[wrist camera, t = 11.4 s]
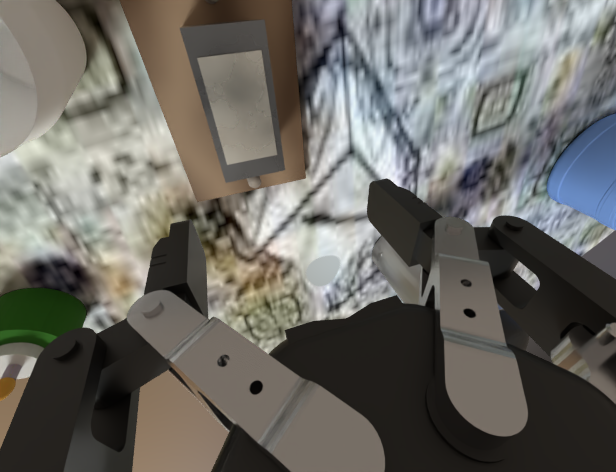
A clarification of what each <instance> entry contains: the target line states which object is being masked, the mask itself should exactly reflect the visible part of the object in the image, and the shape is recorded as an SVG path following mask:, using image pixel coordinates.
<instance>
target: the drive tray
mask: <svg viewBox="0 0 616 472" xmlns="http://www.w3.org/2000/svg"><path fill="white" fill-rule="evenodd" d="M120 3H121V5H122V8H123V10H124V13H125V16H126V18H127V21H128V23H129V26H130V29H131V31H132V34H133V36H134V39H135V42H136V44H137V47H138V49H139V52H140V55H141V57H142V60H143V62H144V65H145V68H146V70H147V73H148V75H149V78H150V81H151V83H152V86H153V88H154V91H155V94H156V96H157V99H158V101H159V104H160V107H161V109H162V112H163V114H164V117H165V119H166V122H167V125H168V127H169V130H170V132H171V135H172V138H173V140H174V143H175V145H176V148H177V151H178V153H179V156H180V158H181V161H182V164H183V166H184V169H185V171H186V174H187V177H188V179H189V182H190V184H191V187H192V190H193V192H194V195H195V197H196V200H197V202H200V201H204V200H209V199H214V198H218V197H223V196H227V195H232V194H236V193H241V192H246V191H250V190H255V189H259V188H264V187H268V186H273V185H278V184H282V183H287V182H291V181H296V180H300V179H305V178H306V174H305V162H304V149H303V137H302V125H301V112H300V100H299V87H298V75H297V62H296V50H295V37H294V25H293V12H292V0H120ZM263 19H265V26H266V34H267V41H268V48H269V55H270V63H271V70H272V77H273V85H274V92H275V99H276V106H277V114H278V121H279V128H280V135H281V143H282V150H283V157H284V165H285V170H284V171H279V172H275V173H270V174H265V175H261V176H256V177H251V178H247V179H242V180H237V181H233V182H228V183H226V182H225V179H224V176H223V172H222V169H221V165H220V162H219V159H218V155H217V152H216V149H215V145H214V142H213V139H212V135H211V132H210V129H209V125H208V122H207V119H206V115H205V112H204V109H203V105H202V102H201V99H200V95H199V92H198V89H197V85H196V82H195V78H194V75H193V72H192V68H191V65H190V62H189V58H188V55H187V52H186V48H185V45H184V42H183V38H182V35H181V32H180V27H182V26H190V25H200V24H210V23H220V22H230V21H240V20H263Z"/></svg>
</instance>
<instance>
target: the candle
mask: <svg viewBox="0 0 616 472" xmlns="http://www.w3.org/2000/svg"><path fill="white" fill-rule="evenodd" d="M86 314H87V312H86V308H85V306H84V304H83V303H82V302H81V301H80V300H78V299H77V298H76V297H74V296H72V295H70V294H68V293H65V292H62V291H58V290H54V289H47V288H26V289H19V290H15V291H12V292H9V293H6V294H4V295H3V296H1V297H0V401H1V400H3V399H4V398H6V397H7V396H8V395H9V394H10V393H11V392H12V391H13V389H14V387H15V383H16V379H22V378H27V377H30V375H31V373H32V370H33V368H34V365H35V363H36V360H37V358H38V357H39V355H40V353H41V352H42V351H43V350H44V348H45V347H46V346H47V345H48V344H49V343H51V342H52V341H53V340H54V339H56V338H57V337H59V336H60V335H62V334H64V333H66V332H68V331H71V330H73V329H77V328H82V326H83V324H84V321H85V318H86Z"/></svg>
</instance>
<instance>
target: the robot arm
mask: <svg viewBox="0 0 616 472" xmlns="http://www.w3.org/2000/svg"><path fill="white" fill-rule="evenodd" d="M367 215H368V218H369V221H370V222H371V223H372V225H373V226H374V227H375V228H376V229H377V230H378V232H379V233H380V234H381V235H382V236H381V238H380V239H379V240H378V241H377V243H376V244H375V246H374V248H373V251H372V260H373V262H374V263H375V265H376V266H377V267H378V269H379V271H381V273H382V274H383V275H384V277H385V278H386V280H387V281H388V282H389V284H390V285H391V286H392V288H393V289H394V290H395V292H396V293H397V294H398V296H399V297H400V298H401V300H402V301H403V303H402V302H401V301H400V299H399V298H398V296H397V295H396V296H393V297H389V298H386V299H383V300H380V301H377V302H373V303H371V304H369V305H367V306H366V307H364V308H363V309H361V310H360V311H358V312H356V313H355V314H353V315H352V316H350V317H348V318H346V319H334V320H320V321H312V322H309V323H306V324H303V325H300V326H296V327H293V328H290V329H287V330H285V333H286V338H287V339H286V340H285V341H283V342H282V343H280V344H279V345H278V346H277V347H275V348H274V349H273V350H272V351H271V352H270V353H269V354H267V353H266V352H264V351H263V350H262V349H260V348H259V347H257V346H256V345H255V344H253V343H252V342H250V341H249V340H248V339H246V338H245V337H243V336H242V335H241V334H239V333H238V332H236V331H235V330H234V329H232V328H231V327H229V326H228V325H227V324H225V323H224V322H222V321H221V320H220V319H218V318H216V317H212V318H211V319H210V320H209V319H208V302H207V273H206V258H205V253H204V250H203V247H202V245H201V242H200V240H199V237H198V235H197V232H196V229H195V227H194V225H193V222H192V221H191V220H186V221H181V222H177V223H172V224H171V226H170V234H169V237H166V238H161V239H160V240H159V241H158V242H157V244H156V245H155V246H154V248H153V251H152V256H151V258H152V259H151V261H150V268H149V272H148V277H147V282H146V287H145V292H144V296H142V297H141V298H139V299H138V300H137V301H136V302H135V303H134V304H133V305H132V306H131V308H130V309H129V311H128V314H127V318H126V319H124V320H123V321H121V322H119V323H117V324H115V325H113V326H111V327H109V328H107V329H105V330H103V331H101V332H99V333H97V334H96V333H95V332H94V331H93V330H92V329H90V328H77V329H73V330H71V331H68V332H66V333H64V334H62V335H60V336H59V337H57V338H56V339H54V340H53V341H52V342H51V343H49V344H48V345H47V346H46V347H45V348H44V350H43V351H42V352H41V353H40V355H39V357H38V358H37V360H36V363H35V365H34V368H33V370H32V373H31V375H30V378H29V380H28V383H27V385H26V388H25V390H24V393H23V395H22V397H21V400H20V402H19V405H18V407H17V409H16V412H15V414H14V417H13V419H12V422H11V424H10V427H9V429H8V431H7V434H6V436H5V439H4V441H3V444H2V446H1V449H0V472H132V466H133V455H134V445H135V434H136V423H137V412H138V401H139V392H140V387H141V386H143V385H144V384H146V383H147V382H149V381H150V380H152V379H154V378H155V377H157V376H159V375H160V374H161V373H163V372H165V371H167V370H168V371H169V372H170V373H171V374H172V375H173V376H174V377H175V378H176V379H177V380H178V381H179V382H180V383H181V384H182V385H183V386H184V387H185V388H186V389H187V390H188V391H189V392H190V393H191V394H192V395H193V396H194V397H195V398H196V399H197V400H198V401H199V402H200V403H201V404H202V405H203V406H204V407H205V408H206V409H207V410H208V412H209V413H210V414H211V415H212V416H213V417H214V418H215V419H216V420H217V421H218V422H219V423H220V424H221V425H222V426H223V427H224V428H225V429H226V430H227V431H228V432H229V434H228V436H227V438H226V441H225V443H224V445H223V447H222V449H221V451H220V454H219V456H218V458H217V460H216V462H215V464H214V466H213V469H212V471H211V472H616V279H614V278H613V277H611V276H610V275H608V274H607V273H605V272H603V271H602V270H601V269H599V268H598V267H596V266H595V265H593V264H591V263H590V262H588V261H587V260H585V259H584V258H582V257H581V256H579V255H578V254H576V253H575V252H573V251H572V250H570V249H569V248H567V247H566V246H564V245H563V244H561V243H559V242H558V241H556V240H555V239H553V238H552V237H550V236H549V235H547V234H546V233H544V232H543V231H541V230H540V229H538V228H537V227H535V226H534V225H532V224H531V223H529V222H527V221H525V220H523V219H521V218H518V217H514V216H498V217H496V218H495V219H494V220H493V222H492V224H491V226H490V227H473V226H472V225H471V224H469V223H468V222H467V221H465V220H462V219H460V218H456V217H442V216H441V215H439V214H438V213H437V212H436V211H434V210H433V209H432V208H431V207H429V206H428V205H427V204H426V203H423V201H422V200H421V199H419V198H417V196H416V195H414V194H413V193H412V192H411V191H409V190H407V189H404V188H402V187H398V186H397V185H395V184H394V183H393V182H392V181H391V180H389V179H382V180H377V181H373V182H371V183H370V186H369V196H368V206H367ZM518 261H520V262H521V263H522V264H523V265H525V266H526V267H527V268H528V269H529V270H531V271H532V272H533V273H534V274H536V276H537V277H538V279H539V281H540V287H539V289H538V290H537V291H536V290H535V289H534V288H533V287H532V286H531V285H529V284H528V283H527V282H526V281H525V280H524V279H522V278H521V277H520V276H519V275H518V274H516V273H515V272H514V271H513V270H514V268H515V266H516V265H517V263H518ZM529 336H530V337H531V338H532V339H533V340H534V341H535V342H536V343H537V344H538V345H539V346H540V347H541V348H542V349H543V350H544V351H545V352H546V353H547V354H548V355H549V356H550V357H551V359H552V361H553V363H551V362H548V361H546V360H544V359H542V358H539V357H538V356H535V355H533V354H531V353H529V352H527V351H525V350H526V347H527V344H528V341H529Z"/></svg>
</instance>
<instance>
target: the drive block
mask: <svg viewBox="0 0 616 472" xmlns="http://www.w3.org/2000/svg"><path fill="white" fill-rule="evenodd" d="M180 32H181V35H182V38H183V42H184V45H185V48H186V52H187V55H188V58H189V62H190V65H191V68H192V72H193V75H194V78H195V82H196V85H197V89H198V92H199V95H200V99H201V102H202V105H203V109H204V112H205V115H206V119H207V122H208V125H209V129H210V132H211V135H212V139H213V142H214V145H215V149H216V152H217V155H218V159H219V162H220V165H221V169H222V172H223V176H224V179H225V182H226V183H228V182H233V181H237V180H242V179H247V178H251V177H256V176H261V175H265V174H270V173H275V172H279V171H284V170H285V165H284V157H283V150H282V143H281V135H280V128H279V121H278V114H277V106H276V99H275V92H274V85H273V77H272V70H271V63H270V55H269V48H268V41H267V34H266V26H265V19H263V20H240V21H230V22H220V23H210V24H200V25H190V26H182V27H180Z"/></svg>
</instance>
